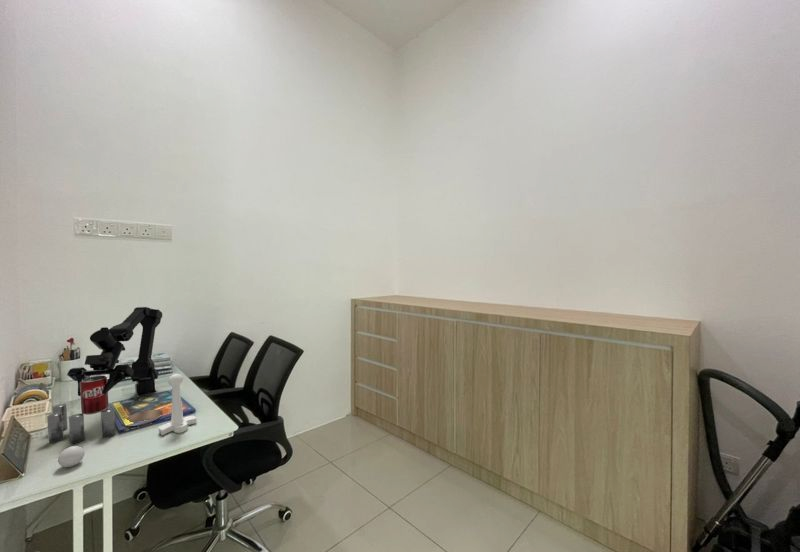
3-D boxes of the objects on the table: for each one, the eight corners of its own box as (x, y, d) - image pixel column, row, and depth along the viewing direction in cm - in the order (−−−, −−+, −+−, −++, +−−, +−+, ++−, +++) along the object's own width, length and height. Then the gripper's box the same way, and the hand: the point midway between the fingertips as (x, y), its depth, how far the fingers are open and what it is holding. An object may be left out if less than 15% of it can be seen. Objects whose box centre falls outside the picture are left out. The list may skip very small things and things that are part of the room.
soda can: (112, 408, 120) (111, 376, 119) (87, 417, 113) (85, 383, 113) (102, 404, 123) (100, 373, 122) (77, 413, 116) (75, 380, 116)
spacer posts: (62, 427, 119) (61, 403, 119) (118, 433, 115) (117, 408, 114) (30, 440, 110) (28, 415, 110) (89, 448, 106) (87, 421, 105)
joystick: (192, 420, 124) (190, 368, 123) (200, 426, 119) (198, 372, 118) (157, 432, 115) (154, 377, 114) (164, 439, 110) (162, 382, 109)
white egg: (90, 459, 99) (89, 441, 99) (72, 471, 94) (71, 452, 94) (65, 460, 99) (64, 442, 99) (45, 472, 94) (44, 453, 93)
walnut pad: (157, 409, 133) (157, 406, 133) (167, 417, 126) (166, 415, 126) (120, 420, 124) (119, 418, 124) (127, 430, 116) (127, 427, 116)
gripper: (69, 346, 119) (45, 387, 108) (127, 343, 123) (110, 382, 113) (85, 361, 127) (65, 400, 117) (140, 357, 131) (125, 395, 121)
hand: (91, 394), depth 116 cm, fingers closed on soda can, 7 cm apart
